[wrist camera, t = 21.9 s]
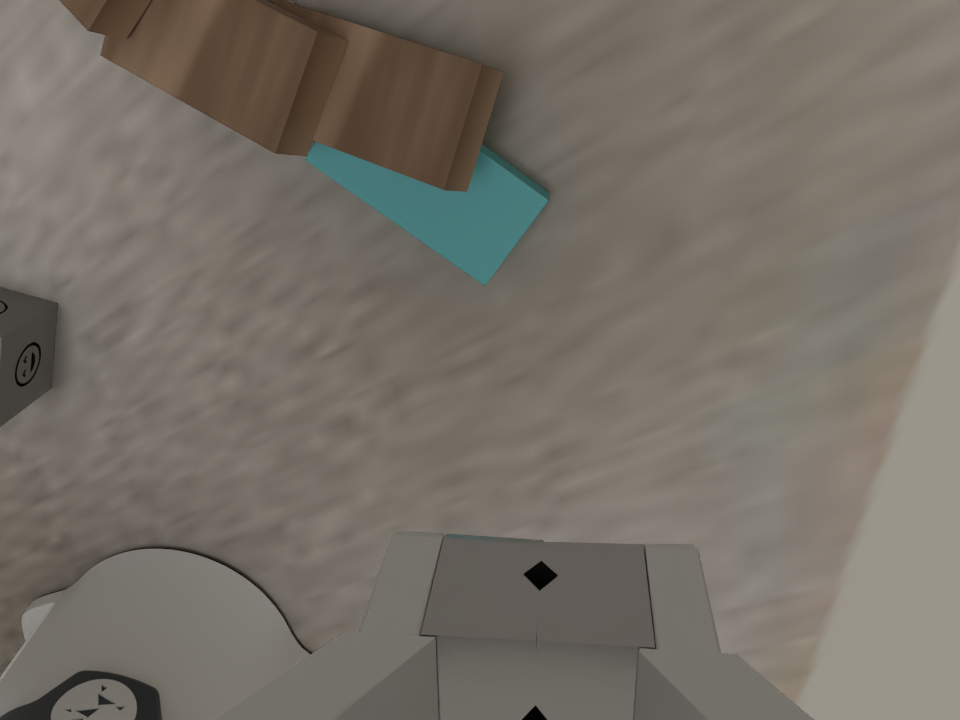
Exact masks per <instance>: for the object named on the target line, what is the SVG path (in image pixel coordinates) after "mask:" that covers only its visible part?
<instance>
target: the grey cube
mask: <svg viewBox="0 0 960 720" xmlns="http://www.w3.org/2000/svg"><path fill="white" fill-rule="evenodd" d="M57 309H58V303H55V302H51V301H48V300H44V299H40V298H37V297H33V296H30V295H26V294H23V293H19V292H16V291H12V290H9V289H5V288H2V287H0V427H1V426H2V425H3V424H5V423H6V422H7V421H9V420H10V419H11V418H13V417H14V416H15V415H17V414H18V413H19V412H20V411H22V410H23V409H24V408H26V407H27V406H28V405H30V404H31V403H32V402H34V401H35V400H36V399H37V398H39V397H40V396H41V395H43V394H44V393H45V392H47V391H48V390H49V389H51V386H52V373H53V361H54V348H55V335H56V322H57Z"/></svg>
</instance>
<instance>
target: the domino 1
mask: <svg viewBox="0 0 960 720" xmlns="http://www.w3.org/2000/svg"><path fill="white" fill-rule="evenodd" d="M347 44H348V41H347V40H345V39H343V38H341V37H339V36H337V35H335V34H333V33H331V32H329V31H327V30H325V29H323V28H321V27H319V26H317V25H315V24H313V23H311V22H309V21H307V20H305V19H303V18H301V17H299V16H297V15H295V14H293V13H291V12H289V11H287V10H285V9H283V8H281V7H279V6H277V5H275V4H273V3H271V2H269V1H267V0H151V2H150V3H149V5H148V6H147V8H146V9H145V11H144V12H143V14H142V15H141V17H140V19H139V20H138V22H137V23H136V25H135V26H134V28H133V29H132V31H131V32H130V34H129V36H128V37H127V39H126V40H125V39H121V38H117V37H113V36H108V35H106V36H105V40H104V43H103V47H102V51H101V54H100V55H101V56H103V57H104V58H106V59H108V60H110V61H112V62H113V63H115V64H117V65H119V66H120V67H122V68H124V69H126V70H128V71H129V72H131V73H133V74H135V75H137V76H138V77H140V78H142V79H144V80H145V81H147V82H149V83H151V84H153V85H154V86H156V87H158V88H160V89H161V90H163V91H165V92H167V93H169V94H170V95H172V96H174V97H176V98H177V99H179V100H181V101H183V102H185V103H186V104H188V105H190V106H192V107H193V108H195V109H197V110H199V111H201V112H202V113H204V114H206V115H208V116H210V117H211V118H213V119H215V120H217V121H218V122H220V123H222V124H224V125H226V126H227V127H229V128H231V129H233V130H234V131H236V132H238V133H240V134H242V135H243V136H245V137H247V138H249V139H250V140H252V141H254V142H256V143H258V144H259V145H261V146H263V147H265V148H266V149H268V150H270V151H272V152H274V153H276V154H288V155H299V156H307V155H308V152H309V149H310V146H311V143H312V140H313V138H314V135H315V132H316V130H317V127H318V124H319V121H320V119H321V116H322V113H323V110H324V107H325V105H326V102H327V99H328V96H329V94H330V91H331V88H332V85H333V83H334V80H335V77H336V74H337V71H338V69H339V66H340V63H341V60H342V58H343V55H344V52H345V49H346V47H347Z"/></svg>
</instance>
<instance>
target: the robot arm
mask: <svg viewBox="0 0 960 720" xmlns="http://www.w3.org/2000/svg"><path fill="white" fill-rule="evenodd" d="M543 541H544V540H532V539H517V538H502V537H487V536H472V535H457V534H446V536H445V535H444V534H442V533H424V532H397V533H396V534H395V535H393V536H392V537H391V539H390V542H389V545H388V548H387V551H386V554H385V556H384V559H383V562H382V565H381V568H380V571H379V574H378V577H377V580H376V583H375V586H374V589H373V592H372V595H371V597H370V600H369V603H368V606H367V609H366V612H365V615H364V618H363V621H362V624H361V627H360V630H359V633H357V632H343V633H342V634H340V635H339V636H337V637H336V638H334V639H333V640H331V641H330V642H328V643H327V644H325V645H324V646H323V647H321V648H320V649H318V650H317V651H315V652H314V653H312V654H311V655H310V654H309V653H308V652H307V651H305V650H304V649H303V648H302V647H301V646H300V645H299V644H298V642H297V641H296V639H295V638H294V636H293V635H292V633H291V631H290V629H289V627H288V626H287V624H286V622H285V620H284V619H283V617H282V615H281V614H280V612H279V611H278V610H277V608H276V607H275V606H274V605H273V603H272V602H271V601H270V600H269V599H268V598H267V597H266V596H265V595H264V594H263V593H262V592H261V591H260V590H259V589H258V588H257V587H256V586H255V585H253V584H252V583H251V582H249V581H248V580H247V579H245V578H244V577H243V576H241V575H240V574H238V573H236V572H235V571H233V570H231V569H229V568H228V567H226V566H224V565H222V564H220V563H217V562H215V561H213V560H210V559H208V558H205V557H202V556H199V555H195V554H192V553H187V552H183V551H177V550H169V549H141V550H134V551H128V552H124V553H121V554H118V555H115V556H112V557H110V558H107V559H105V560H103V561H102V562H100V563H98V564H96V565H95V566H93V567H92V568H91V569H90V570H88V571H87V572H86V573H85V574H84V575H83V576H82V577H81V578H80V579H79V580H78V581H77V582H76V583H74V584H73V585H72V586H71V587H69V588H68V589H66V590H63V591H59V592H55V593H52V594H48V595H45V596H43V597H40V598H38V599H36V600H34V601H33V602H32V603H31V604H30V605H29V607H28V608H27V610H26V611H25V613H24V614H23V616H22V619H21V623H22V629H23V633H24V638H25V643H24V644H23V646H22V647H21V648H20V650H19V651H18V653H17V654H16V655H15V657H14V658H13V660H12V661H11V662H10V664H9V665H8V667H7V668H6V670H5V671H4V672H3V674H2V675H1V677H0V720H814V719H813V718H812V717H810V716H809V715H808V714H807V713H806V712H804V711H803V710H802V709H801V708H800V707H799V706H797V705H796V704H795V703H794V702H793V701H791V700H790V699H789V698H788V697H787V696H786V695H784V694H783V693H782V692H781V691H780V690H779V689H777V688H776V687H775V686H774V685H773V684H771V683H770V682H769V681H768V680H767V679H766V678H764V677H763V676H762V675H761V674H760V673H758V672H757V671H756V670H755V669H754V668H753V667H751V666H750V665H749V664H748V663H747V662H746V661H744V660H743V659H742V658H741V657H740V656H738V655H737V654H724V653H721V650H720V645H719V641H718V636H717V632H716V627H715V623H714V618H713V614H712V609H711V605H710V600H709V596H708V591H707V587H706V582H705V578H704V573H703V569H702V564H701V560H700V555H699V551H698V549H697V548H696V547H695V546H694V545H693V544H612V543H572V542H543Z"/></svg>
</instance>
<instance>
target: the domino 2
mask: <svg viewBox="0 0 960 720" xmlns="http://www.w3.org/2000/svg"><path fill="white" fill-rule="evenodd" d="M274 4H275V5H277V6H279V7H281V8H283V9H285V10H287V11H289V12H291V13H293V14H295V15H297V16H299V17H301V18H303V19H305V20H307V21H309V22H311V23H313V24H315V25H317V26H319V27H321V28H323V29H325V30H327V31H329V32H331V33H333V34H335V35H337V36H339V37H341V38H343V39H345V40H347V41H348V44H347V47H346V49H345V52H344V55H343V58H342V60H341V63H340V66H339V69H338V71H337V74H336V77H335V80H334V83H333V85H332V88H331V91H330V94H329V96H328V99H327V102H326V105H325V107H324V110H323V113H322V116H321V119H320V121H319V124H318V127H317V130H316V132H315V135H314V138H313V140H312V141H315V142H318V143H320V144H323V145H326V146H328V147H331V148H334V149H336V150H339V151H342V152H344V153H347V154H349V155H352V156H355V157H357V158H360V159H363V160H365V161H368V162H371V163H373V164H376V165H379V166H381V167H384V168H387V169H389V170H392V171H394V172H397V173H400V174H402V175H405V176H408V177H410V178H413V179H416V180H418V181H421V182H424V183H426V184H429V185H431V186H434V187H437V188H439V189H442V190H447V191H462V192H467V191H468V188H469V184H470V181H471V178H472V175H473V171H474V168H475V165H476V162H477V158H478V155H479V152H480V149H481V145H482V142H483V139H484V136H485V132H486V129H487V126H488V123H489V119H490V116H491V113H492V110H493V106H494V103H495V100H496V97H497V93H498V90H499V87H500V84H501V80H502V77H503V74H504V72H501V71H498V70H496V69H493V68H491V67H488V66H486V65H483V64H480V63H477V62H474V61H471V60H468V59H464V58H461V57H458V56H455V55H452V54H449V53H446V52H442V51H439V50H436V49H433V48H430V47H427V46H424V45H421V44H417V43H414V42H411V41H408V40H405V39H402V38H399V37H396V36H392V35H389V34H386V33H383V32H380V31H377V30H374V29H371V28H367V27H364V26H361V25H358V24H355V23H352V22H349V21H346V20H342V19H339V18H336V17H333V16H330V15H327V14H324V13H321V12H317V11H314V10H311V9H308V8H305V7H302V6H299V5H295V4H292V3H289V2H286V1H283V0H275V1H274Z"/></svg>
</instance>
